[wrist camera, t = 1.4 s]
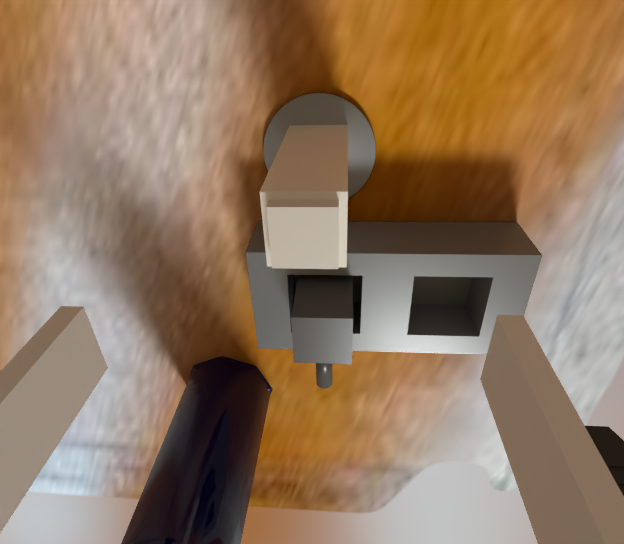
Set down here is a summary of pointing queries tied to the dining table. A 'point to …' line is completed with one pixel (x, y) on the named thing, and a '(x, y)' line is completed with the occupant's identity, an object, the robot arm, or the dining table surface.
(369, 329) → the strip
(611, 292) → the dining table surface
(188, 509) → the bottle
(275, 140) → the coaster
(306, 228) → the plug
